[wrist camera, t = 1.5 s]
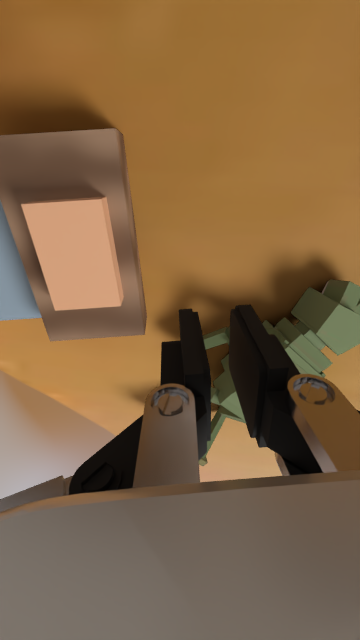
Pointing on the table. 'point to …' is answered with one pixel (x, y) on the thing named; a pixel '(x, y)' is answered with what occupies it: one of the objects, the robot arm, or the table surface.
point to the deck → (72, 183)
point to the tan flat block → (76, 252)
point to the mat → (13, 278)
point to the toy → (296, 342)
